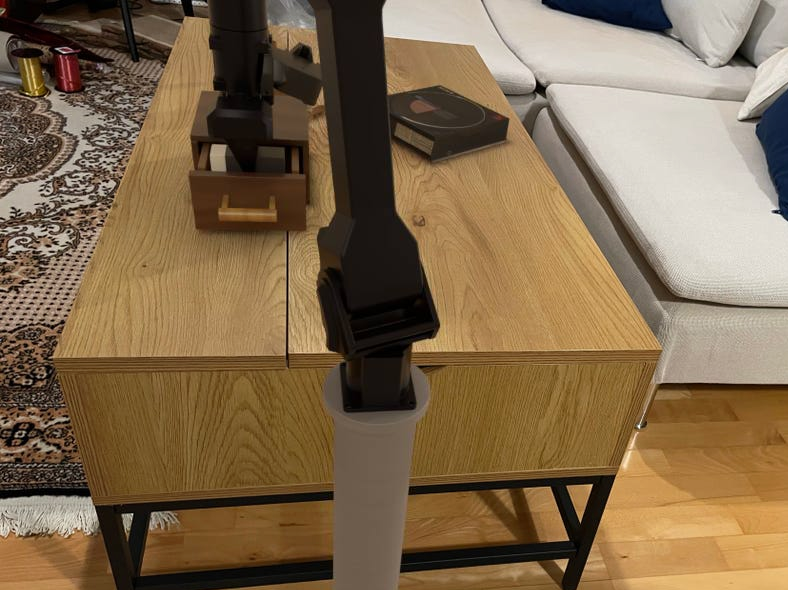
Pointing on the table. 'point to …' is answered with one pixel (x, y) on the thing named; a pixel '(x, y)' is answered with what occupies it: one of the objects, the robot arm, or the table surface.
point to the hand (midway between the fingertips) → (249, 167)
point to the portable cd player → (443, 123)
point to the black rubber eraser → (265, 162)
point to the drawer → (249, 196)
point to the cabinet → (286, 131)
